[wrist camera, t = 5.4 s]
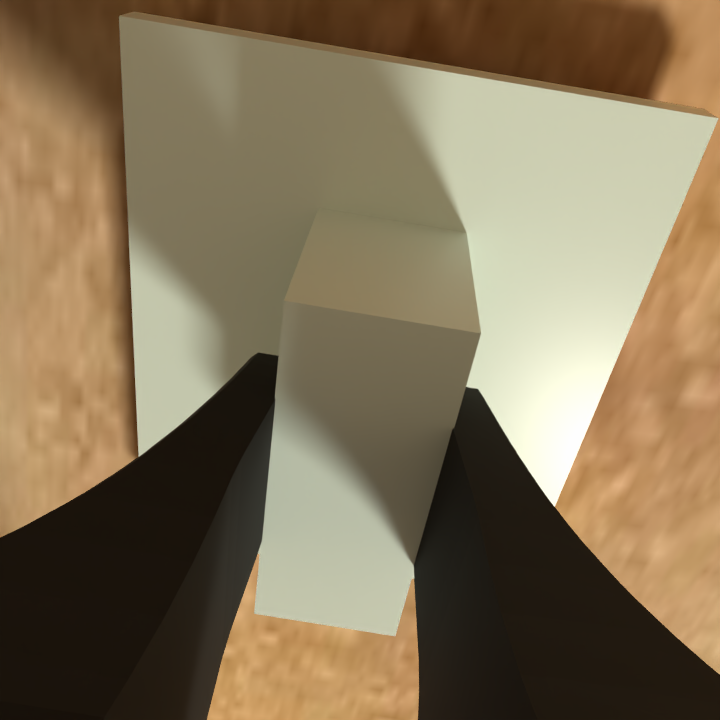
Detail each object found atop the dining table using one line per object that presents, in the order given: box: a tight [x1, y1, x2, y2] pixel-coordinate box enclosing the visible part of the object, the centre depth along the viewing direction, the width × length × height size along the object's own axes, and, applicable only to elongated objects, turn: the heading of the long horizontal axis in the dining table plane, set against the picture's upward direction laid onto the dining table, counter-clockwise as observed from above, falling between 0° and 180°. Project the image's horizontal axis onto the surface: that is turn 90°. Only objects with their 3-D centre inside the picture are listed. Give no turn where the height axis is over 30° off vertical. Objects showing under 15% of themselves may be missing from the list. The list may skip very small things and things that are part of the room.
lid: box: [119, 11, 718, 636], centre depth 12 cm, size 11×9×5 cm
